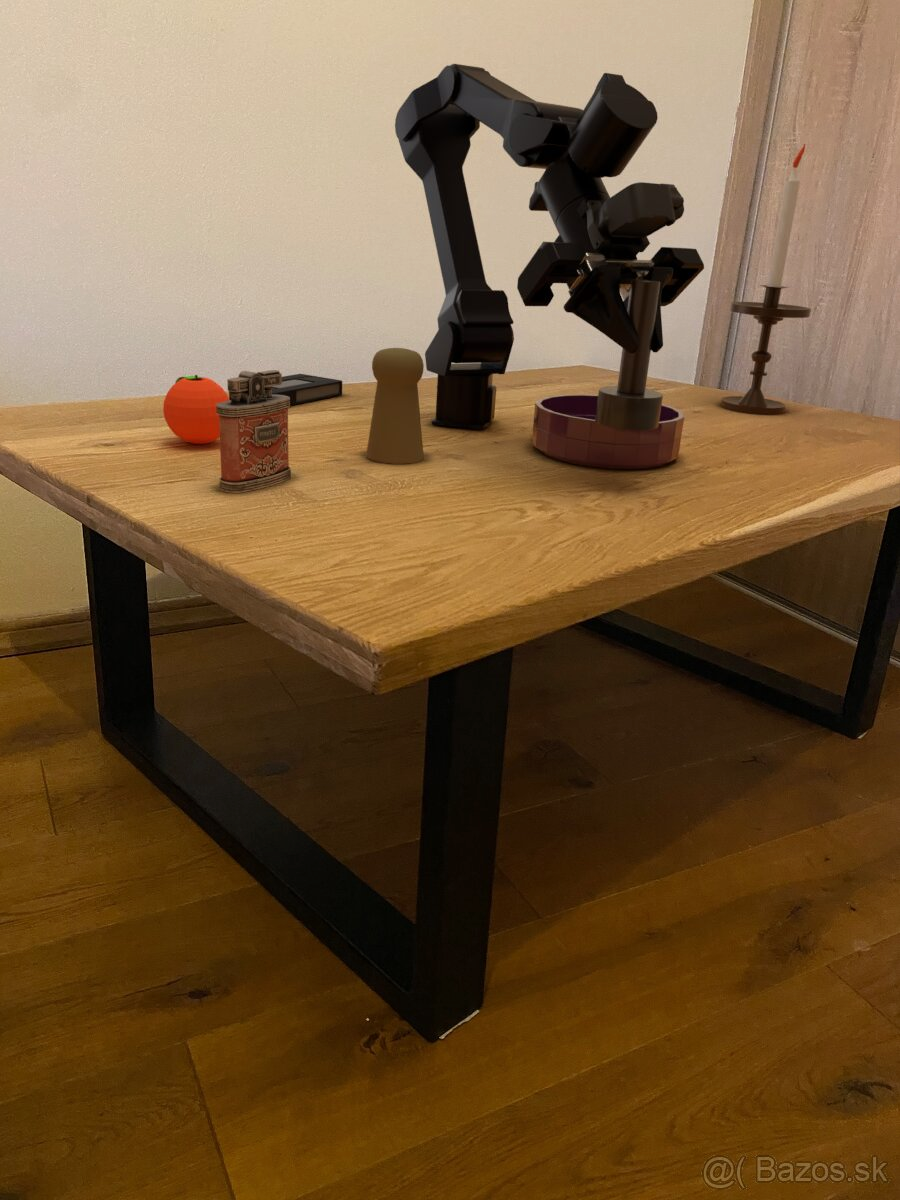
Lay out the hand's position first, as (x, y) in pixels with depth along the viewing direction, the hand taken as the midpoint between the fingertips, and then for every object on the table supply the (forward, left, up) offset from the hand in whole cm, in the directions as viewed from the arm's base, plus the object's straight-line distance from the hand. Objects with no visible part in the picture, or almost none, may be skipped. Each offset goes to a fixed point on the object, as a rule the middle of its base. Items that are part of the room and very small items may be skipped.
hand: (646, 350), depth 85 cm
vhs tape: (-46, +28, -13) cm, 56 cm away
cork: (-24, +3, -13) cm, 28 cm away
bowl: (-3, +15, -13) cm, 20 cm away
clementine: (-45, 0, -13) cm, 47 cm away
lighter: (-33, -12, -13) cm, 38 cm away
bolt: (-1, +1, -7) cm, 7 cm away
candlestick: (+16, +54, -13) cm, 58 cm away
